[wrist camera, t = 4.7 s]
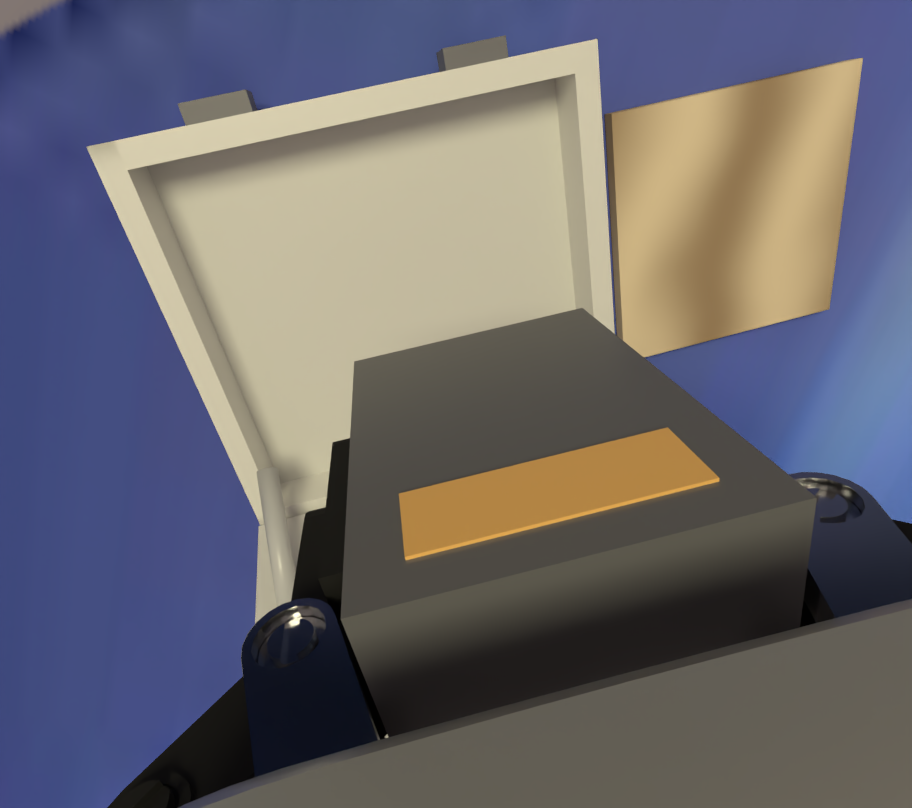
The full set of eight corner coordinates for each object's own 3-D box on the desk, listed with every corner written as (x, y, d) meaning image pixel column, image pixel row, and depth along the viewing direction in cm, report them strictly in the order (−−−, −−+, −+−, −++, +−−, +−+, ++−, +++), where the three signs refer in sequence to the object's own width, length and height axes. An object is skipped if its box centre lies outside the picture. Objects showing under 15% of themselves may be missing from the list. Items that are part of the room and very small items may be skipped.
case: (566, 28, 19) (998, -158, 7) (601, 467, 28) (816, 746, 15) (107, 124, 18) (-427, 119, 5) (294, 552, 27) (255, 929, 14)
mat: (850, 59, 21) (863, 57, 21) (819, 305, 26) (829, 309, 26) (604, 114, 21) (611, 113, 20) (618, 357, 25) (624, 362, 25)
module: (581, 305, 12) (817, 493, 6) (599, 495, 14) (780, 776, 8) (353, 359, 12) (338, 616, 6) (408, 543, 14) (442, 870, 8)
